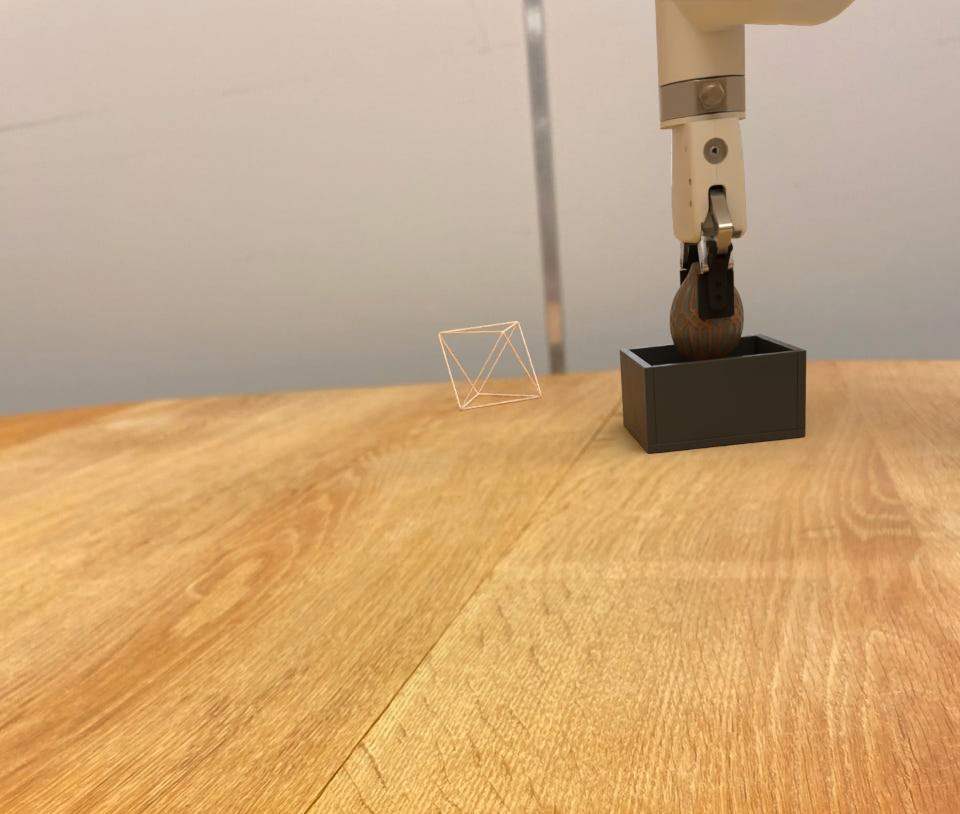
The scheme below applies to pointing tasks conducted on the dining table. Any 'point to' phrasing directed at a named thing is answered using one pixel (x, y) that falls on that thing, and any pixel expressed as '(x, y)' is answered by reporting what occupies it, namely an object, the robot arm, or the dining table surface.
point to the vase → (702, 324)
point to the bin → (714, 395)
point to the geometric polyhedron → (492, 366)
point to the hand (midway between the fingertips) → (706, 313)
